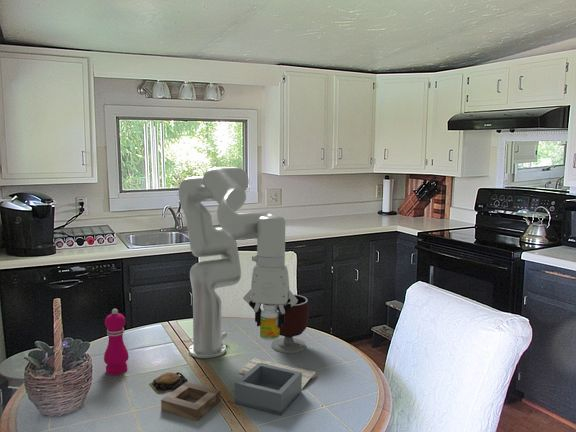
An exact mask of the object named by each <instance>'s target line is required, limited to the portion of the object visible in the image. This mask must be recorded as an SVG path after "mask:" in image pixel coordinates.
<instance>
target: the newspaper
mask: <svg viewBox="0 0 576 432" xmlns="http://www.w3.org/2000/svg"><path fill="white" fill-rule="evenodd" d="M258 363H261V364H266V365H270V366H275V367H279V368H284V369H288V370H293V371H298V372H302V389H301V391H303V389H304V387H305V386H306V385H307V383H308V382H309V381H310V379H314V378H316V376H317V371H315V370H310V369H305V368H301V367H296V366H291V365H286V364H281V363H279V362H273V361H270V360H263V359H260V358H256V357H254V358H252V359H250V360H249V361H248V362H246V364H245V365H244V366H243V367H242V368H241V369H240V370H239V372H238V374H240V375H242V376H244V375H245V374H246V373H247V372H248V371H250V370H251V369H252V368H253V367H254V366H256V365H257V364H258Z"/></svg>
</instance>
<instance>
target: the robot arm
mask: <svg viewBox="0 0 576 432" xmlns="http://www.w3.org/2000/svg"><path fill="white" fill-rule="evenodd" d="M249 180H250V179H249V177H248V174H247V172H246V170H245V169H243V168H241V167H240V166H239V167H238V166H217V167H216V166H215V167H212V168H209V169H207V170H206V171H205V172H204V173H203V175H202V176H201V175H200V176H199V175H198V176H191V177H186V178H184V179H183V180H181V182H180V183H179V187H178V198H179V199H178V200H179V202H180V203H179V204H180V207H181V209H182V212H183V213H184V215H185V220H186V227H187V233H188V234H187V235H188V240H189V241H188V242H189V246H190V251H191V254H192V255H193V256H194V257H197V258H205V257H216V256H217V257H218V256H220V258H219V259H210V260H202V261H199V262H196V263H195V264H193V265H192V266H191V267H190V270H189V280H190V284H191V291H192V329H193V330H192V333H193V334H192V335H193V336H192V338H193V343H192V344H191V345H190V346H189V348H188V353H189V354H190V356H192V357H193V358H199V359H213V358H218V357H221V356H222V355H224V354H225V353H226V351H227V346H226V345H225V344H224V343H223V340H224V339H226V338H227V336H228V334H227V332H225V331H224V332H222V300H221V296H219V294H218V293H217V292H216V291H215V290H216V289H219V288H225V287H230V286H235V285H236V284H238V283H240V280H241V279H242V278H241V277H242V270H241V262H240V254H239V249H238V243H237V242H239V241H247V240H254V239H255V240H256V241H257V242H256V244H257V245H256V255H255V256H254V255H252V256H251V261H252V262H255V263H256V264H255V265H254V266H253V269H252V275H251V284H250V286H251V287H250V289H249V291H248V292H247V293H246V294H245V295H244V296H243V298H242V299H243V301H244V302H246V303H247V304H248V305H249V306H250V308H251V309H252V310H253V312H254V322H255V323H256V327H260V313H261V311H262V310H263V309H262V308H261V307H262V305H263V304H275V305H279V308H280V313H279V328H282V325H283V324H285V312H286V311H288V310H289V309H290V308H291V307H292V306H293V305H295V304H296V303H297V301H298V300H297V298H296V297H295V296H294V295H295V294H294V293H293V292H292V291H291V290H290V280H289V279H290V278H289V271H288V266H287V265H286V262H285V261H286V220H285V219H286V218H284V217H283V216H280V215H274V214H273V213H270V212H269V211H251V212H249V211H248V212H239V213H237V211H238V210H239V209H241V208H242V207H243V205H244V204H245V202H246V200H247V199H246V198H247V194H246V190H248V187H249V184H250V182H249ZM202 202H216V203H217V204H218V206H217V211H216V214H217V220H218V221H217V222H218V224H219V227H214V225H213V219H212V218H213V217H212V215H211V213H210V211H209V210H208V208H207V206H205V205H204V204H203V203H202ZM293 294H294V295H293ZM288 299H290V300H291V301H290V302H289V303H288V304H287V305H285V304H286V303H287V301H288Z"/></svg>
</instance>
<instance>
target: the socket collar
mask: <svg viewBox="0 0 576 432" xmlns="http://www.w3.org/2000/svg"><path fill="white" fill-rule="evenodd" d="M189 398H191V399H194V400H196V401H195V402H193V401H188V400H187V399H189ZM221 401H222V391H221V389H217V388H215V387H214V388H213V387H210V386H209V387H208V386H206V385H202V384H197V383H193V382H190V381H188V382H185V383H184V384H183V385H181V386H180V387H178V388H177V389H176V390H172V391H170V393H169V394H167V395H166V396H164V397H163V398H161V400H160V404H161V405H160V409H161V411H162V412H166V413H170V414H172V415H176V416H179V417H183V418H186V419H190V420H194V421H196V422H197V421H199V420H201V418H203V416H204V415H206V414H207V413H208V412H209V411H210V410H212V409H213V408H214V407H216V405H217V404H219V403H220V402H221Z"/></svg>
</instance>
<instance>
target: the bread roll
mask: <svg viewBox="0 0 576 432" xmlns="http://www.w3.org/2000/svg"><path fill="white" fill-rule="evenodd" d="M185 382H189V381H188V379H187V378H186V377H185V375H183V374H182V373H181V372H176V373H175V372H166V373H165V372H164V373H163V374H161V375H160V376H157V377H156V378H155V379H153V380H152V381H151V382H150V383H149V384H148V385H149V386H150V387H151V388H152V389H153V391H154V392H155V393H156V394H158V395H160V394H164V393H168V392H173V391H174V390H176V389H177V388H178V387H180V386H181V385H183V384H184V383H185Z"/></svg>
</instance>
